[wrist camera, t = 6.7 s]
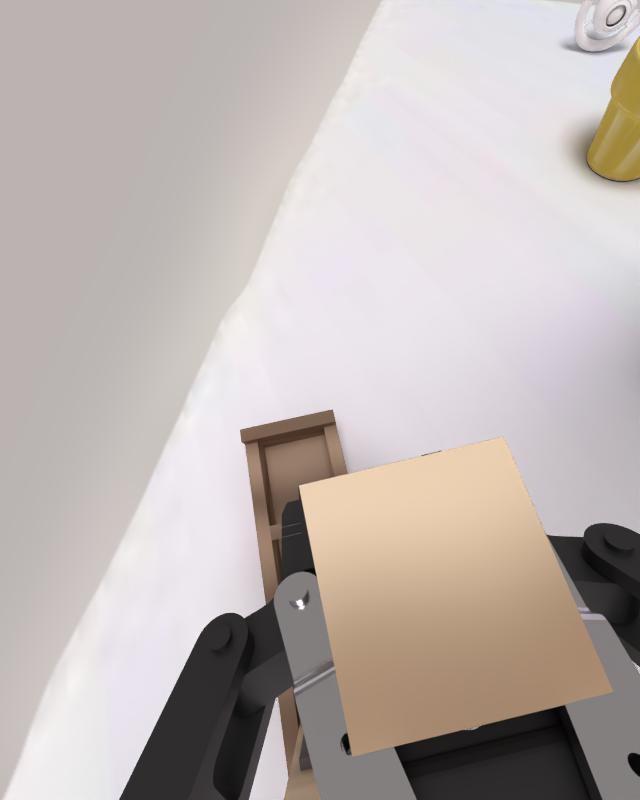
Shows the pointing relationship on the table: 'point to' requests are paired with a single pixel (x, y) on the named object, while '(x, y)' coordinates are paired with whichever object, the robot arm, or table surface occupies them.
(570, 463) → the table surface
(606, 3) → the ring around a ball
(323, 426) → the rail
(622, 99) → the plant pot
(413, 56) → the table surface
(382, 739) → the block
